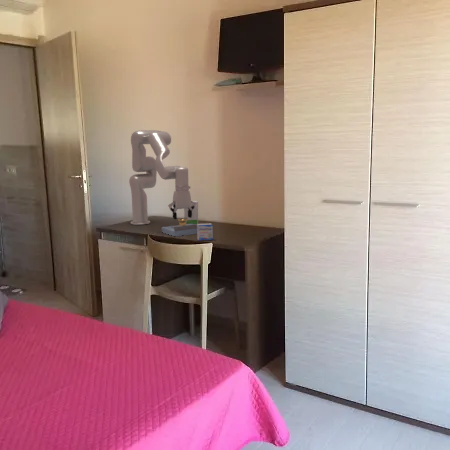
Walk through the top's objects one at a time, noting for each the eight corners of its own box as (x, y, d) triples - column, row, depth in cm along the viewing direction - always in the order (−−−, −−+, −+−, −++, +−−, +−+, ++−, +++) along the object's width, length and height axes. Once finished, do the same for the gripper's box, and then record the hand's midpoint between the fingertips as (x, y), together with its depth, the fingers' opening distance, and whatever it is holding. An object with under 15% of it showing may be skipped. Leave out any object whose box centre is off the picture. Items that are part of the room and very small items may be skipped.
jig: (161, 232, 303) (161, 223, 302) (191, 228, 314) (191, 219, 313) (174, 236, 290) (173, 227, 289) (205, 232, 300) (205, 223, 299)
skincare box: (185, 227, 318) (184, 202, 316) (184, 225, 325) (183, 200, 322) (198, 226, 320) (198, 201, 317) (197, 224, 326) (196, 200, 324)
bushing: (176, 232, 302) (176, 218, 301) (184, 231, 305) (184, 217, 304) (181, 233, 298) (180, 220, 297) (189, 232, 301) (188, 219, 299)
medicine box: (198, 241, 278) (198, 225, 276) (197, 239, 282) (196, 223, 281) (213, 240, 280) (212, 224, 278) (211, 238, 284) (210, 222, 282)
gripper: (192, 187, 305) (192, 215, 308) (165, 189, 296) (166, 218, 299) (198, 188, 299) (198, 217, 302) (171, 190, 290) (171, 220, 293)
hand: (182, 218), depth 301 cm, fingers open, 9 cm apart
